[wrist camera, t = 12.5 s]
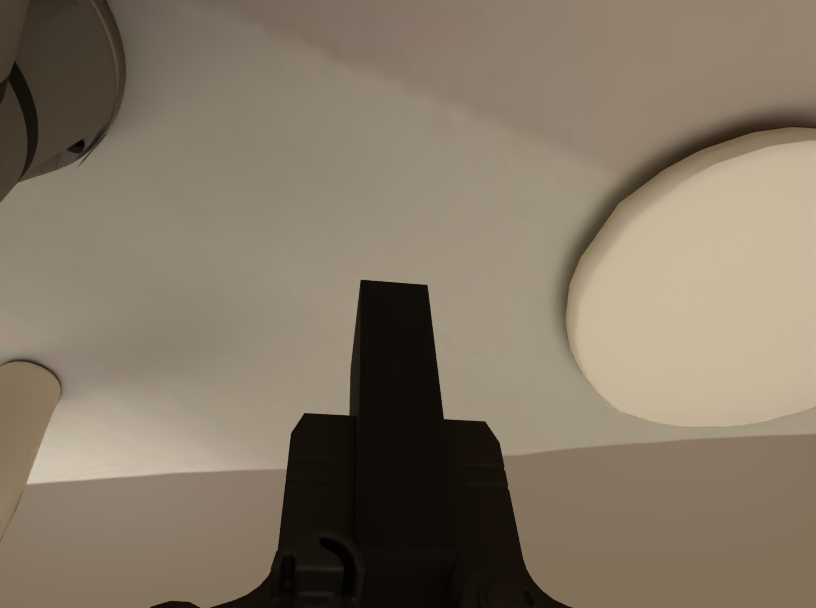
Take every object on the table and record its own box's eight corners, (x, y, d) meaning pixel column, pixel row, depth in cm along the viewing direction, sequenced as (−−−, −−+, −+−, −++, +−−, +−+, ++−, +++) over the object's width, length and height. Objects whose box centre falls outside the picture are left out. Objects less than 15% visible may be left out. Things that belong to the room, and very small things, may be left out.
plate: (579, 459, 58) (558, 192, 41) (569, 403, 63) (547, 145, 46) (940, 430, 53) (1076, 114, 36) (898, 372, 58) (1001, 71, 42)
